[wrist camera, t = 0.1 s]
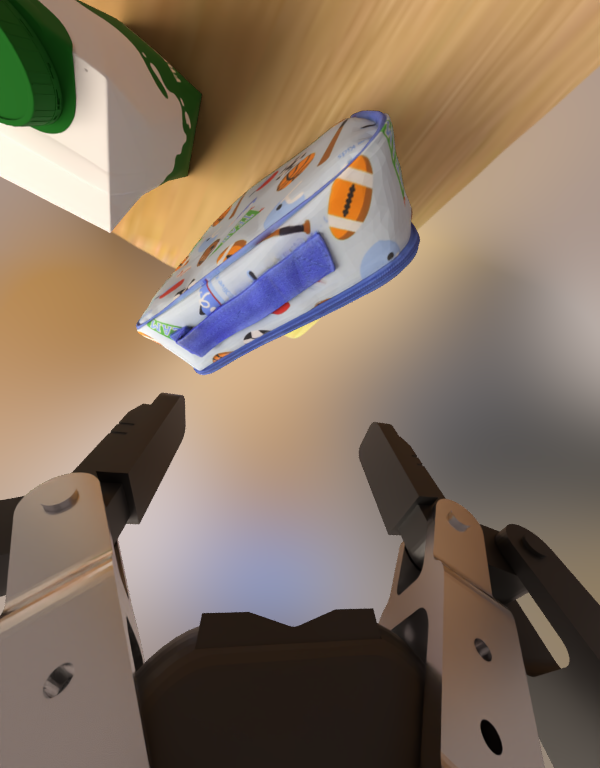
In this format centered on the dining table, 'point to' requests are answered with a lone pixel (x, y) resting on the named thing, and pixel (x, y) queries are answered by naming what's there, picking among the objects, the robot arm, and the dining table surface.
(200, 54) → the dining table surface
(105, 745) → the robot arm
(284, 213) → the lunch box
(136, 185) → the milk carton
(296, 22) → the dining table surface
